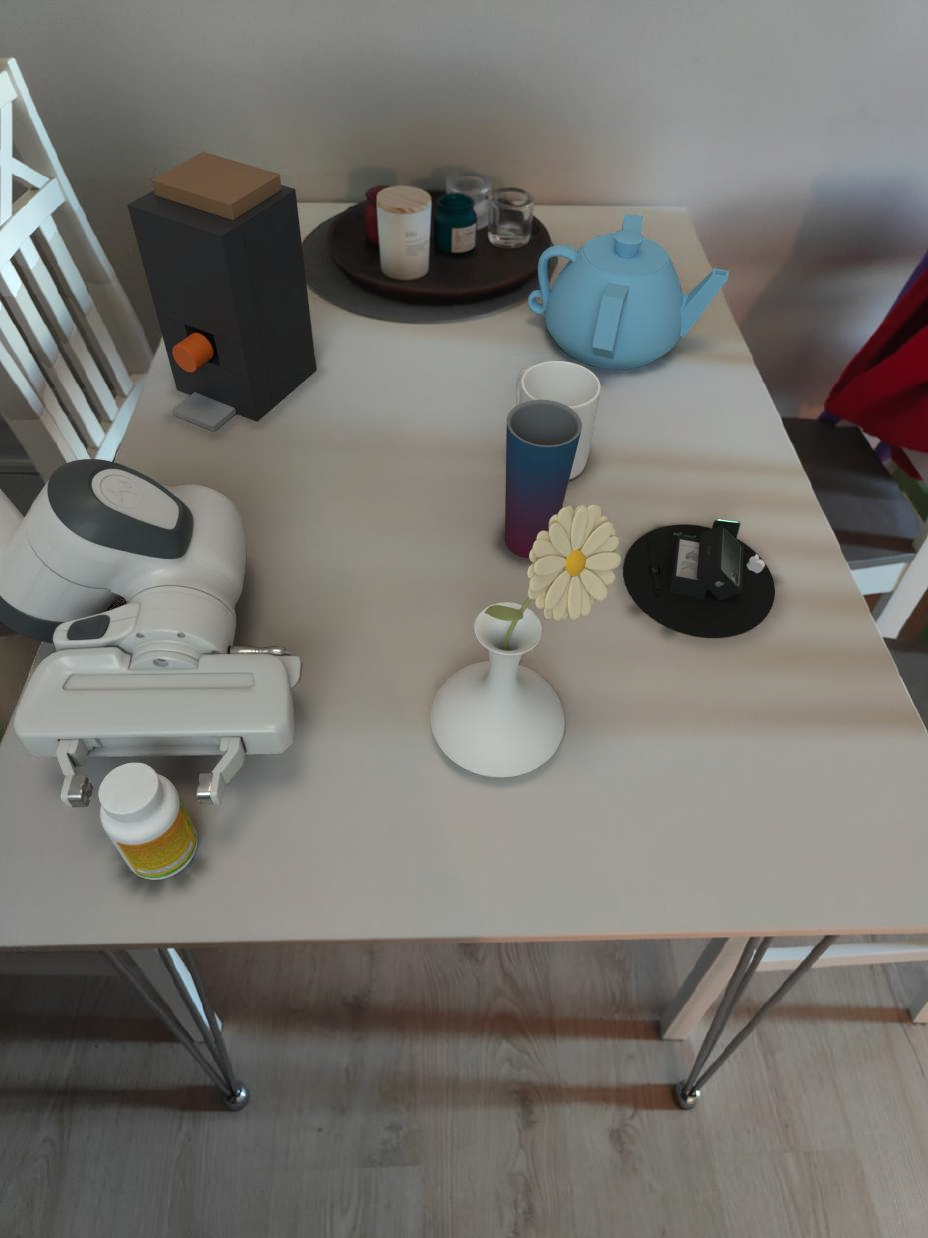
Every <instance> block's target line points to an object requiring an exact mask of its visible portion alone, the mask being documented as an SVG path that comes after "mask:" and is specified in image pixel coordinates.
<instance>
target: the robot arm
mask: <svg viewBox="0 0 928 1238" xmlns="http://www.w3.org/2000/svg"><path fill="white" fill-rule="evenodd" d="M247 553H248V540H247V531H246V527H245V523H244V521H243V517H242V514H241V513H240V511H239V509H238V508H237V506H236V505H235V504H234V502H233V501H232V500H231V499H230V498H228V497H227V496H225V494H223V493H222V492H220V491H218V490H216V489H214V488H211V487H208V486H204V485H201V484H196V483H195V484H194V483H189V484H181V485H174V486H171V485H165V484H161V483H159V482H158V481H156V480H155V479H154V478H151V477H150V476H148V475H146V474H144V473H142V472H139V471H138V470H136V469H133V468H131V467H129V466H127V465H124V464H121V463H118V462H115V461H111V460H107V459H100V458H82V459H75V460H72V461H68V462H66V463H64V464H61V466H59V467H58V468H56V469H55V470H54V471H53V472H52V473H51V475H50V477H49V479H48V480H47V481H46V483H45V484H44V485H43V488H42V489H41V490H40V492H39V493H38V494H37V496H36V497H35V499H34V500H33V501H32V503H31V504H30V508H29V509H28V511H27V513H26V515H25V516H24V515H23V514H22V513H21V511H20V510H19V509H18V507H16V505H15V504H14V503H13V502H12V501H11V499H10V498H9V497H8V496H7V495H6V493H5V492H4V491H3V489H2V488H0V622H1V623H3V624H4V625H5V626H7V627H8V628H9V629H11V630H12V631H14V632H15V633H17V634H18V635H21V636H23V637H25V638H28V639H32V640H34V641H38V642H42V643H50V644H53V646H54V648H55V652H52V653H51V654H48V655H47V656H46V657H45V658H44V659H43V660H41V661H40V662H39V664H38V665H37V667H36V668H35V669H34V670H33V674H32V675H31V677H30V679H29V681H28V683H27V685H26V687H25V690H24V691H23V694H22V696H21V699H20V701H19V704H18V706H17V709H16V712H15V715H14V718H13V722H12V723H13V724H12V727H13V731H14V733H15V736H16V737H17V739H18V741H19V743H20V744H21V745H22V746H23V748H24V749H25V750H26V751H27V752H28V754H29V755H30V756H31V757H33V758H35V759H36V758H37V759H53V758H54V759H57V761H58V764H59V766H60V770H61V772H62V774H63V776H64V779H63V783H62V787H61V789H60V793H59V794H60V798H59V799H60V802H61V803H62V805H63V806H64V807H65V808H87V807H89V805H90V802H91V800H90V798H91V796H92V795H93V792H94V786H93V783H91V782H90V779H89V778H88V776H87V775H86V774H85V775H83V774H79V773H78V769H83V768H85V766H86V762H87V758H109V757H111V758H113V757H114V758H115V757H116V758H117V757H120V758H121V757H170V756H171V757H173V756H174V757H175V756H177V757H179V756H182V757H183V756H221V758H220V760H219V761H218V763H217V764H216V766H215V767H214V768H213V769H212V771H211V772H203V773H202V772H200V773H199V777H198V784H199V785H198V786H197V787H196V798H197V800H198V803H199V805H201V806H205V805H206V806H208V805H210V806H213V805H214V806H217V805H219V806H220V805H222V804H223V798H224V793H225V792H224V791H225V785H227V784H229V782H230V781H231V780H232V778H233V777H234V776H235V775H236V774H237V773H238V772H239V771H240V770H241V768H242V767H243V766H244V761H245V755H280V754H283V753H284V752H286V751H287V749H288V748H289V747H290V746H291V745H293V742H294V738H295V710H294V699H293V694H292V693H293V692H295V691H296V690H298V689H297V688H298V687H299V686H300V685H301V682H302V677H303V661H302V659H301V657H300V656H299V655H298V654H296V653H295V652H293V651H290V650H286V647H285V646H281V645H269V646H251V645H234V643H235V642H234V641H235V635H236V631H237V630H236V629H237V615H236V609H235V607H236V605H237V603H238V602H239V600H240V597H241V596H242V592H243V588H244V581H245V576H246V568H247V567H246V566H247V556H248V554H247ZM119 597H122V598H124V600H125V602H126V604H123V605H121V606H118V607H115V608H113V606H114V604H115V603H116V601H117V599H118V598H119ZM112 608H113V609H112Z"/></svg>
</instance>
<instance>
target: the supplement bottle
mask: <svg viewBox="0 0 928 1238" xmlns="http://www.w3.org/2000/svg"><path fill="white" fill-rule="evenodd" d="M98 801H99V803H100V809H99V819H100V823H101V825H102V828H103V830H104V832H105V833H106V835H107V837H108V838H109V840H110V841H111V843H112V844H113V846H114V847H115V848H116V850H117V852H118V853H119V855H120V857H121V858H122V859H123V861H124V862H125V865H126V866H127V867H128V868H129V870H131V872H132V873H134V874H135V875H136V876H137V877H139V878H142V879H145V880H150V881H157V880H165V879H168V878H171V877H173V876H175V875H176V874H178V873H180V872H181V871H183V870H184V869H185V868H186V867H187V866H188V865H189V864H190V862H191V861H192V859H193V858H194V855H195V854H196V851H197V848H198V834H197V833H198V832H197V831H196V827H195V825H194V824H193V822H192V819H191V817H190V815H189V813H188V811H187V809H186V807H185V805H184V803H183V800H182V799H181V796H180V794H179V792H178V790H177V788H176V787H175V785H174V784H173V782H172V781H171V780H169V779H168V777H166V776H164V775H161V774H159V773H157V772H156V770H155V769H154V768H153V767H151V766H150V765H149V764H146V763H143V762H136V761H135V762H127V763H124V764H121V765H119V766H117V767H115V768H113V769H111V770H110V771H109V772H108V773H107V774H106V775H105V777H104V778H103V779H102V780H101V783H100V785H99V787H98Z"/></svg>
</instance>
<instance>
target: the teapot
mask: <svg viewBox="0 0 928 1238" xmlns="http://www.w3.org/2000/svg"><path fill="white" fill-rule="evenodd" d="M643 223H644V215H638V214H630V213H624V214H623V221H622V226H621V229H620V230H617V231H615V232H611V233H603V234H600V235H596V236H594V237H592V238H591V239H589V240H587V241H586V242H585V243H584V244H583V245H582V246H580V247H579V249H578V250H576V249H575V248H574V247H572V246H570V245H567V244H555V245H552V246H550V247H548V248H546V249H545V250H544V251H542V253H541V255H540V257H539V259H538V261H537V262H538V263H537V279H538V284H539V289H535V290H533V291H532V292H531V293H530V294H529V295H528V298H527V306H528V309H529V310H530V311H531V312H532V313H534V314H535V315H537V316H538V315H540V316H543V315H544V321H545V325H546V329H547V330H548V332H549V335H550V336H551V337H552V339H553V340H554V342H556V344H557V346H559V347H560V348H561V350H563V352H564V353H566V355H568V356H569V357H571V358H573V359H574V360H576V361H579V362H580V363H583V364H586V365H588V366H592V367H594V368H595V367H596V368H601V369H607V370H630V369H631V370H632V369H637V368H641V367H644V366H647V365H649V364H652V363H653V362H655V361H656V360H659V359H660V358H662V357H663V356H665V355H666V354H668V353H669V352H670V351H672V349H673V348H674V347H675V346H676V345H677V343H678V342H679V341H680V339H681V337H686V336H687V334H688V333H689V332H690V331H691V329H692V327H693V326H694V325H695V323H696V322H697V321H698V319H699V318H700V317H701V315H703V313H704V311H705V310H706V309H707V308H708V306H709V305H710V304H711V303H712V301H713V299H714V298H715V297H716V296H717V294H719V292H720V290H721V289H722V287H723V286H724V285H725V284H726V283H727V281H728V280H729V276H730V270H726V269H722V268H721V269H720V268H716V267H713V268H712V270H711V271H710V272H709V273H708V275H706V276H705V277H704V278H703V279H702V280H701V281H700V282H699V283H698V284H696V286H695V287H693V289H692V290H690V291H689V293H683V288H682V285H681V282H680V279H679V276H678V273H677V271H676V268H675V266H674V263H673V261H672V259H671V257H670V255H669V253H668V252H667V250H666V249H665V248H664V247H663V246H662V245H660V244H659V243H658V242H656V241H654V240H653V239H650V238H648V237H645V236H644V235H643V234H642V231H643ZM555 257H560V258H564V259H566V260H568V262H567V263H566V264H565V265H564V267H563V268H562V269H561V271H560V272H559V274H558V276H557V277H556V279H555V281H554V283H553V285H552V287H551V286H550V280H549V275H548V263H549V260H550V259H551V258H555ZM536 298H540V299H541V303H540V302H538V301H537V300H536Z"/></svg>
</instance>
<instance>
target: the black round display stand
mask: <svg viewBox="0 0 928 1238" xmlns="http://www.w3.org/2000/svg"><path fill="white" fill-rule="evenodd" d="M741 525H742V523H741V522H740V520H731V519H724V518H723V519H722V518H715V519H714V520H713V523H712V527H709V526H704V525H698V524H672V525H665V526H661V527H658V528H654V529H652V530H650V531H648V532H646V533H644V534H643V535H641V536H640V537H638V538H637V539H636V540H635V541H634V542H633V543H632V544H631V546H630V547H629V548H628V550H627V552H626V554H625V558H624V561H623V565H622V576H623V582H624V586H625V589H626V590H627V592H628V594H629V596H630V597H631V599H632V600H633V602H634V603H635V604H636V606H637V607H638V608H639V609H640V610H641V611H642V612H643V613H645V614H646V615H647V616H648V617H649V618H651V619H652V620H654V621H655V622H657V623H658V624H659V625H662V626H663V627H666V628H668V629H670V630H672V631H675V632H677V633H680V634H684V635H687V636H692V637H695V638H706V639H724V638H730V637H735V636H739V635H742V634H744V633H747V632H749V631H751V630H753V629H754V628H756V627H757V626H759V625H760V624H761V623H762V622H763V621H765V619H766V618H767V616H768V615H769V613H770V612H771V610H772V608H773V605H774V602H775V598H776V587H775V581H774V577H773V575H772V573H771V571H770V569H769V566H768V565H767V564H766V562H765V561H764V560H763V559H762V557H761V556H760V555H759V554H758V553H757V552H756V551H755V550H754V549H753V548H752V547H750V546H749V545H748V544H747V543H745V542H744V541H742V540H740V539H738V538H737V537H738V535H739V532H740V528H741Z"/></svg>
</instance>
